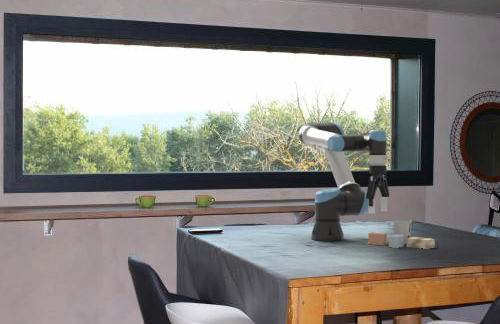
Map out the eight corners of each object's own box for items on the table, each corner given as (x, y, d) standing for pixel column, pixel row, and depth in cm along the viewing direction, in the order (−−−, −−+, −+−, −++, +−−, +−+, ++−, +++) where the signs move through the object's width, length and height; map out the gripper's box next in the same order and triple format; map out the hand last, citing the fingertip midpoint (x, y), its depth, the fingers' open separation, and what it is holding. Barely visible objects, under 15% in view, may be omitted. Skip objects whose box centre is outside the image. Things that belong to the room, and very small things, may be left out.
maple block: (406, 247, 292) (406, 238, 292) (414, 245, 296) (414, 236, 296) (427, 249, 285) (427, 240, 285) (434, 248, 289) (434, 239, 289)
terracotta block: (368, 244, 300) (368, 233, 300) (372, 243, 303) (372, 232, 303) (383, 245, 296) (383, 234, 296) (386, 244, 299) (386, 233, 299)
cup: (411, 244, 298) (411, 222, 298) (393, 244, 300) (393, 221, 299) (411, 242, 306) (411, 220, 306) (392, 241, 307) (393, 219, 307)
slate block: (397, 248, 288) (397, 236, 287) (388, 247, 290) (388, 236, 290) (403, 246, 293) (403, 235, 293) (395, 245, 296) (395, 234, 296)
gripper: (374, 165, 286) (374, 215, 287) (396, 164, 307) (396, 210, 307) (358, 165, 290) (358, 214, 291) (381, 164, 311) (381, 210, 312)
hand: (377, 212), depth 299 cm, fingers open, 13 cm apart
